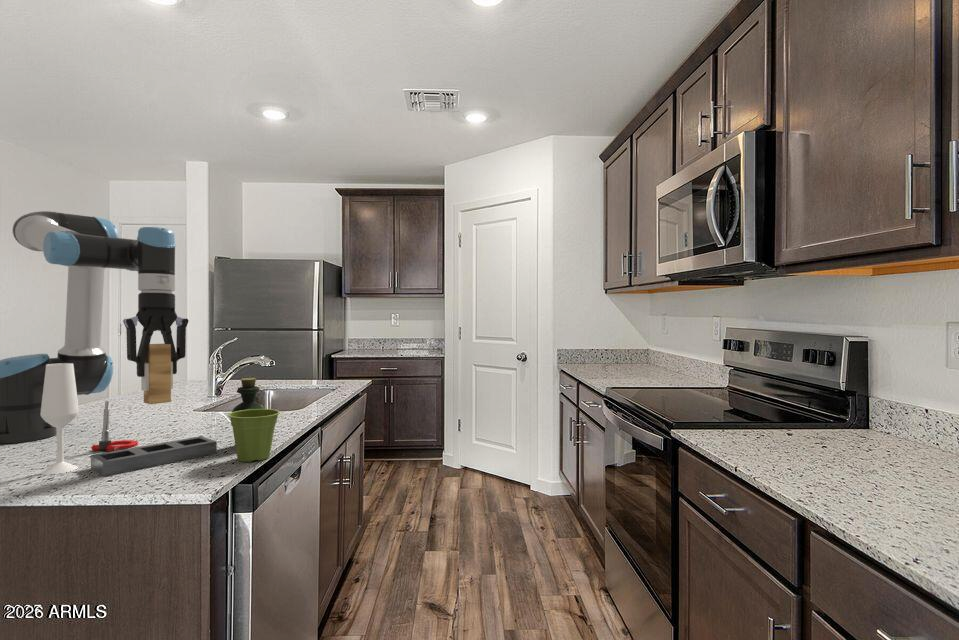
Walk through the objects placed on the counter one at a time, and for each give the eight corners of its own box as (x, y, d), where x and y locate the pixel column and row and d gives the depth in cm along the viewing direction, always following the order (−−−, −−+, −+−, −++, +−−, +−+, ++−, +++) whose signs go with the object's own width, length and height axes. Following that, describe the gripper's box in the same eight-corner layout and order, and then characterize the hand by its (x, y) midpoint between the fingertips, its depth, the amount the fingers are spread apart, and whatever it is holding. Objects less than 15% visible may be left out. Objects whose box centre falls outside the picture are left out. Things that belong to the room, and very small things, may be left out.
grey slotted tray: (90, 468, 116) (90, 455, 116) (201, 447, 135) (201, 436, 135) (103, 476, 111) (102, 462, 111) (216, 453, 129) (216, 441, 129)
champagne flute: (83, 464, 119) (83, 362, 119) (72, 473, 113) (71, 365, 113) (48, 467, 117) (48, 363, 116) (34, 476, 110) (34, 366, 110)
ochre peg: (143, 402, 122) (143, 344, 122) (164, 400, 126) (163, 343, 126) (150, 404, 119) (150, 344, 119) (171, 401, 123) (170, 344, 123)
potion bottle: (224, 448, 134) (225, 380, 134) (243, 441, 142) (244, 376, 142) (253, 450, 133) (253, 381, 132) (270, 442, 141) (270, 377, 140)
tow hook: (118, 443, 140) (87, 450, 131) (120, 396, 141) (90, 400, 132) (145, 445, 139) (116, 452, 130) (147, 397, 139) (118, 401, 130)
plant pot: (274, 464, 120) (274, 416, 120) (220, 466, 118) (220, 418, 118) (284, 450, 132) (284, 407, 132) (236, 452, 130) (236, 408, 130)
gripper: (119, 290, 113) (119, 395, 113) (201, 293, 127) (202, 386, 127) (108, 291, 118) (109, 391, 118) (189, 294, 132) (189, 384, 132)
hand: (157, 388), depth 123 cm, fingers closed on ochre peg, 4 cm apart
